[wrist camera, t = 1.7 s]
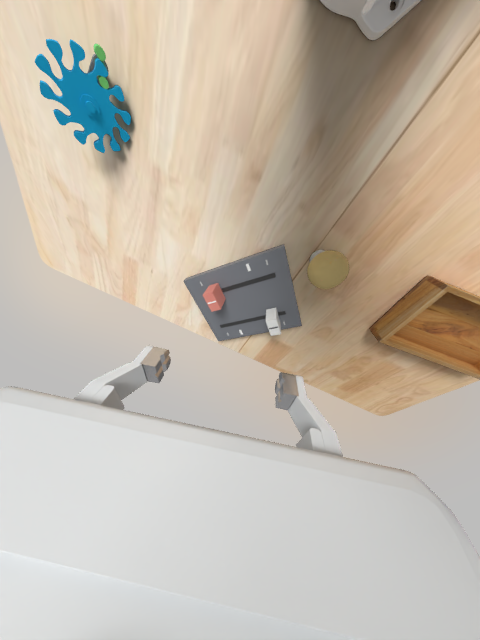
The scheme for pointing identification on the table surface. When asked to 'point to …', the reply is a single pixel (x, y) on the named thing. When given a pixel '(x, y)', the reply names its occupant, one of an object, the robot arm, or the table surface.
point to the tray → (435, 326)
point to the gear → (85, 95)
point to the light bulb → (327, 269)
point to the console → (248, 294)
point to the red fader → (214, 297)
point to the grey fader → (273, 321)
